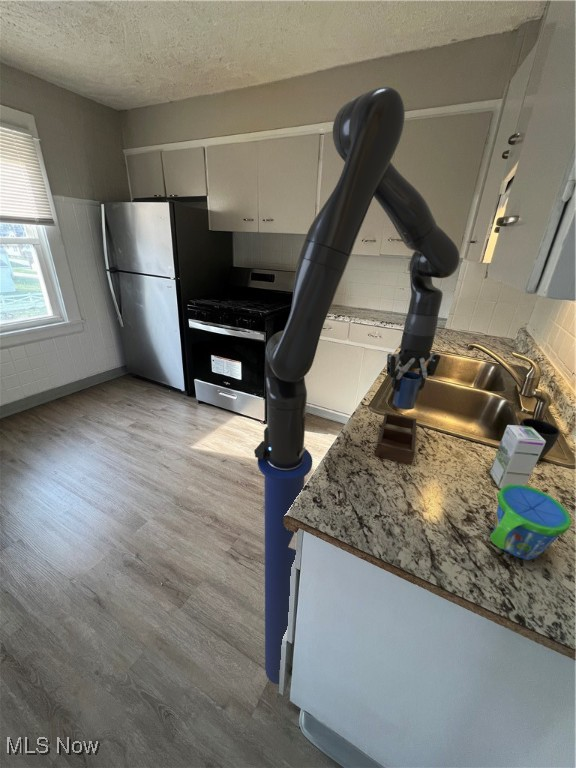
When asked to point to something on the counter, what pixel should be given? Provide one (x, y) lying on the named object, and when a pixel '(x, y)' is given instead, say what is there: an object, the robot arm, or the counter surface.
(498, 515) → the snack cup
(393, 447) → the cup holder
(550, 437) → the mug
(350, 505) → the counter surface
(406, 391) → the tumbler
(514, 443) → the syrup box
